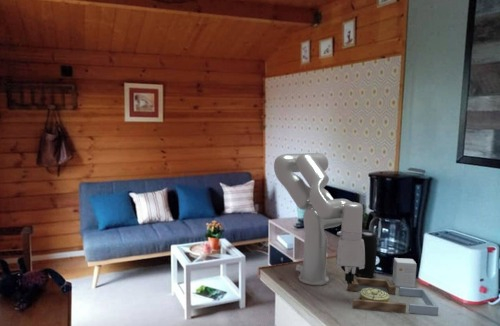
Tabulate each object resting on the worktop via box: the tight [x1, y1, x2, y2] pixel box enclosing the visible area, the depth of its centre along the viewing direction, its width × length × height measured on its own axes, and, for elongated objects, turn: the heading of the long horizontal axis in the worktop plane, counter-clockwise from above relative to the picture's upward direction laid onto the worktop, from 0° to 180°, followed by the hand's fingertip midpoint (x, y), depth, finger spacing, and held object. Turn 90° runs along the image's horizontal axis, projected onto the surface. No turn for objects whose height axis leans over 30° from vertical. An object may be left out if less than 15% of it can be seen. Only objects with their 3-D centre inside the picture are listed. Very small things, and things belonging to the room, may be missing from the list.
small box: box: [391, 257, 418, 288], centre depth 173 cm, size 8×6×10 cm
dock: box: [398, 286, 439, 316], centre depth 155 cm, size 10×16×3 cm, turn 174°
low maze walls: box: [346, 276, 407, 314], centre depth 160 cm, size 18×22×3 cm
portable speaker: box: [355, 229, 378, 278], centre depth 181 cm, size 9×9×20 cm
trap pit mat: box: [358, 285, 388, 293], centre depth 167 cm, size 12×5×1 cm, turn 84°
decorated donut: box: [359, 288, 390, 302], centre depth 157 cm, size 10×11×4 cm
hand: (349, 282), depth 157 cm, fingers closed
